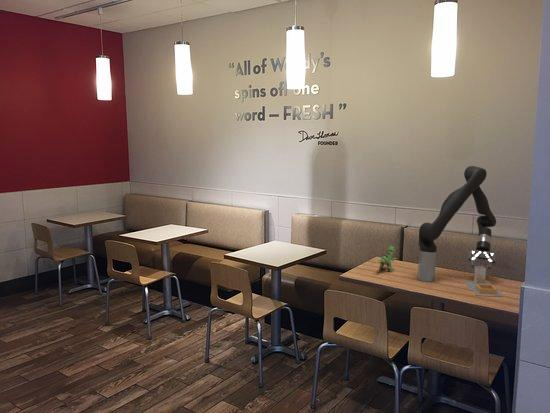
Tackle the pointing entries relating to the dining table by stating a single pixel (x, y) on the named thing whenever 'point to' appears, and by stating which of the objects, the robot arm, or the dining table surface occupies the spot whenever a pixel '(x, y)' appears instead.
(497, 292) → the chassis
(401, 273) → the dining table surface
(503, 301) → the dining table surface
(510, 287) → the dining table surface
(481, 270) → the brushed metal pillar
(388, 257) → the toy
